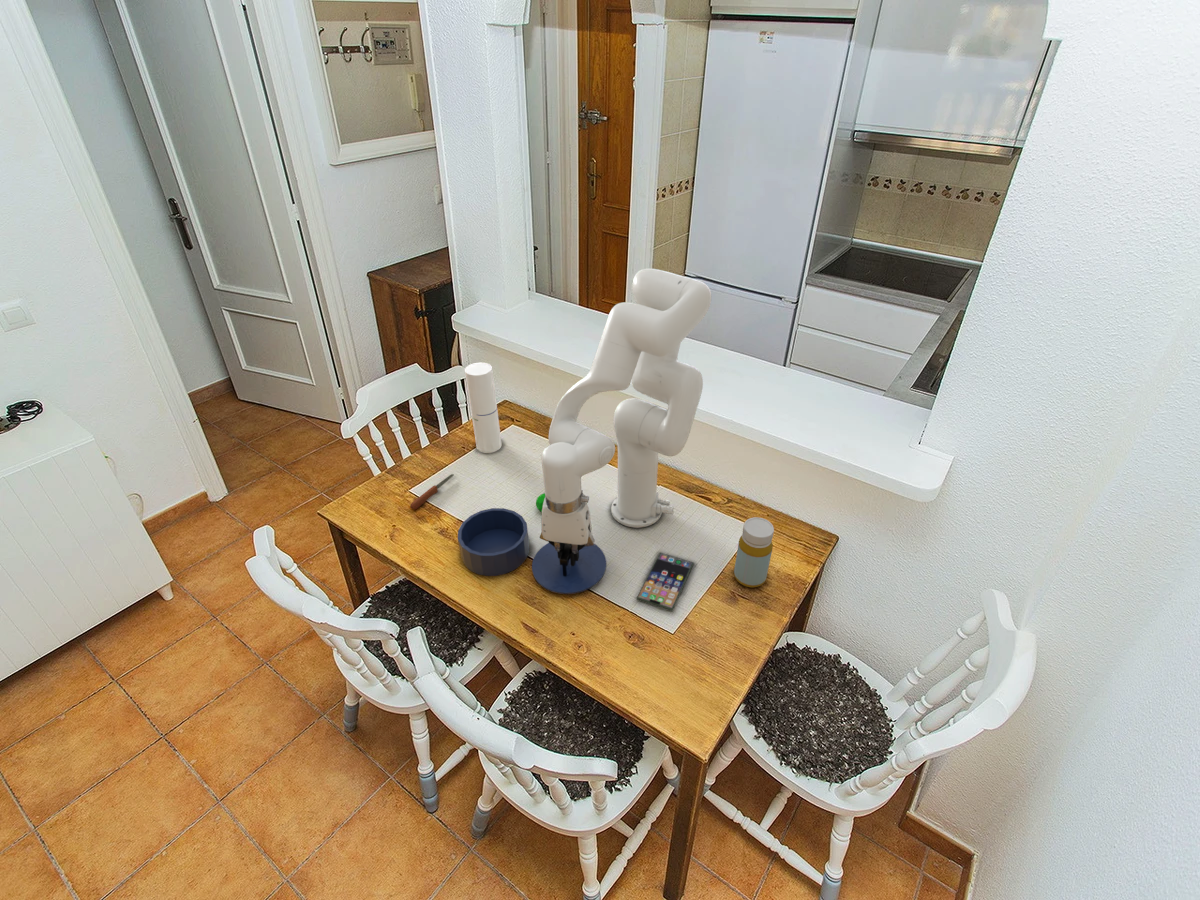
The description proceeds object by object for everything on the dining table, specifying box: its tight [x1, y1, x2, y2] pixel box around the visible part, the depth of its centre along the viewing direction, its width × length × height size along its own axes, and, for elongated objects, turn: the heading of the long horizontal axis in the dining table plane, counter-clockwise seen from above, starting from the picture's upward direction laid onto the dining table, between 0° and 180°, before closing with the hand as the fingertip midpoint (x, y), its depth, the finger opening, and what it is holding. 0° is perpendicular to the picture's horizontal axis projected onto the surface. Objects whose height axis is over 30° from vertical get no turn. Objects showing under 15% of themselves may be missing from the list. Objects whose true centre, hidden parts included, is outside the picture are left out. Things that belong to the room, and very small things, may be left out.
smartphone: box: [635, 552, 695, 612], centre depth 138 cm, size 8×15×1 cm, turn 156°
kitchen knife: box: [409, 473, 455, 510], centre depth 164 cm, size 16×1×2 cm, turn 149°
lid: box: [531, 542, 607, 595], centre depth 140 cm, size 17×17×6 cm
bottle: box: [733, 516, 775, 588], centre depth 135 cm, size 7×7×15 cm
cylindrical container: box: [464, 361, 502, 454], centre depth 174 cm, size 7×7×25 cm
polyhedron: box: [535, 492, 545, 513], centre depth 157 cm, size 5×5×5 cm
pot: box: [457, 507, 530, 577], centre depth 145 cm, size 16×16×6 cm
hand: (568, 560), depth 140 cm, fingers closed on lid
